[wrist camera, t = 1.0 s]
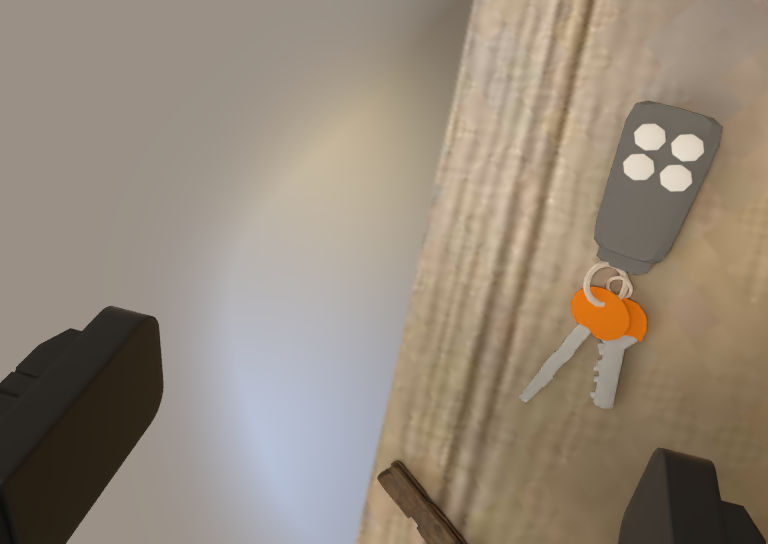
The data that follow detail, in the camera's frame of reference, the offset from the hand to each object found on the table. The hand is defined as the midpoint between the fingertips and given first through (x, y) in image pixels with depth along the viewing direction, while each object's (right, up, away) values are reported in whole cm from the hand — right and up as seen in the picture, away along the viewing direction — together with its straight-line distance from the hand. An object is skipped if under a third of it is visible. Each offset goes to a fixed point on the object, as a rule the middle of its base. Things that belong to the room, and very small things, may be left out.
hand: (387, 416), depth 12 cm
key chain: (+9, +2, +18) cm, 20 cm away
